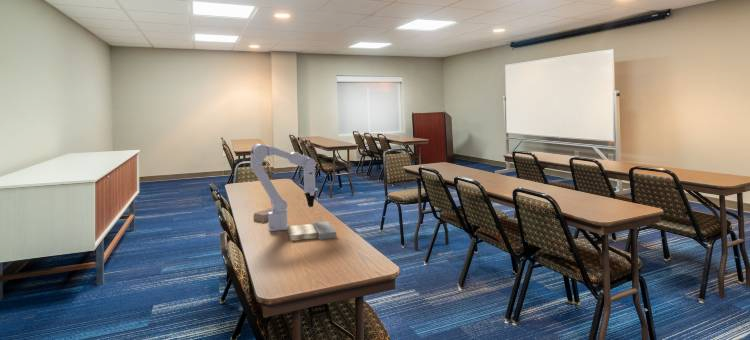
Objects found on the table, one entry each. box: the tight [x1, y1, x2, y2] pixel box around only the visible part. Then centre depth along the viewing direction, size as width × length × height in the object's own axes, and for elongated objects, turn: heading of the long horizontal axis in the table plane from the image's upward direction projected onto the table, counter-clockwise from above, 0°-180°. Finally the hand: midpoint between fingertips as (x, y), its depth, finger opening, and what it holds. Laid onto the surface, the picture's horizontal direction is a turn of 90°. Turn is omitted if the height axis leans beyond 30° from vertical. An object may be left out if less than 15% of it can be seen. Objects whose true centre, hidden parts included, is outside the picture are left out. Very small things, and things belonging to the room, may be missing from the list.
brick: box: [253, 207, 273, 223], centre depth 237 cm, size 17×8×5 cm, turn 147°
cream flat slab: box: [287, 223, 319, 242], centre depth 204 cm, size 12×16×2 cm
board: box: [311, 220, 337, 240], centre depth 207 cm, size 8×20×3 cm, turn 17°
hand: (310, 206), depth 221 cm, fingers closed
